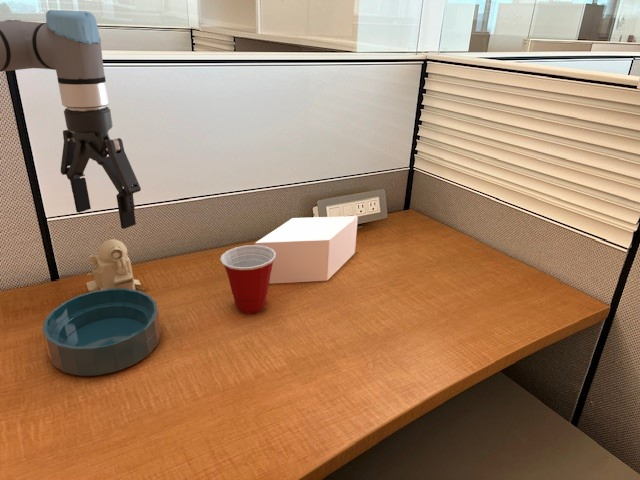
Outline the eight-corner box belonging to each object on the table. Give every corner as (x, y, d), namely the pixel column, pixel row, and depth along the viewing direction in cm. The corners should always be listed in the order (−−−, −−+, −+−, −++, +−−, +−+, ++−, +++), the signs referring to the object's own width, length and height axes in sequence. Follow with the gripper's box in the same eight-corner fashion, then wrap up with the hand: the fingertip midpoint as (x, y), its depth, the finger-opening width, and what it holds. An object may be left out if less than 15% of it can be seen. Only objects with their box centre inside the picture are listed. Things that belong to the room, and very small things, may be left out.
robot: (93, 308, 95) (81, 240, 89) (86, 290, 101) (73, 225, 95) (147, 294, 101) (138, 229, 94) (137, 277, 107) (128, 215, 100)
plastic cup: (245, 287, 105) (244, 237, 100) (286, 302, 100) (287, 251, 95) (211, 309, 97) (208, 257, 92) (254, 327, 92) (252, 273, 87)
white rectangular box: (240, 271, 112) (238, 230, 107) (337, 242, 128) (339, 206, 123) (273, 299, 101) (273, 256, 97) (374, 264, 117) (378, 226, 113)
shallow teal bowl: (27, 351, 83) (19, 323, 80) (117, 304, 97) (112, 278, 94) (94, 394, 74) (88, 363, 72) (181, 335, 89) (179, 308, 86)
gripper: (152, 113, 82) (165, 226, 91) (63, 96, 93) (83, 199, 102) (114, 119, 76) (132, 240, 85) (25, 101, 87) (49, 209, 96)
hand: (105, 218), depth 94 cm, fingers open, 13 cm apart
